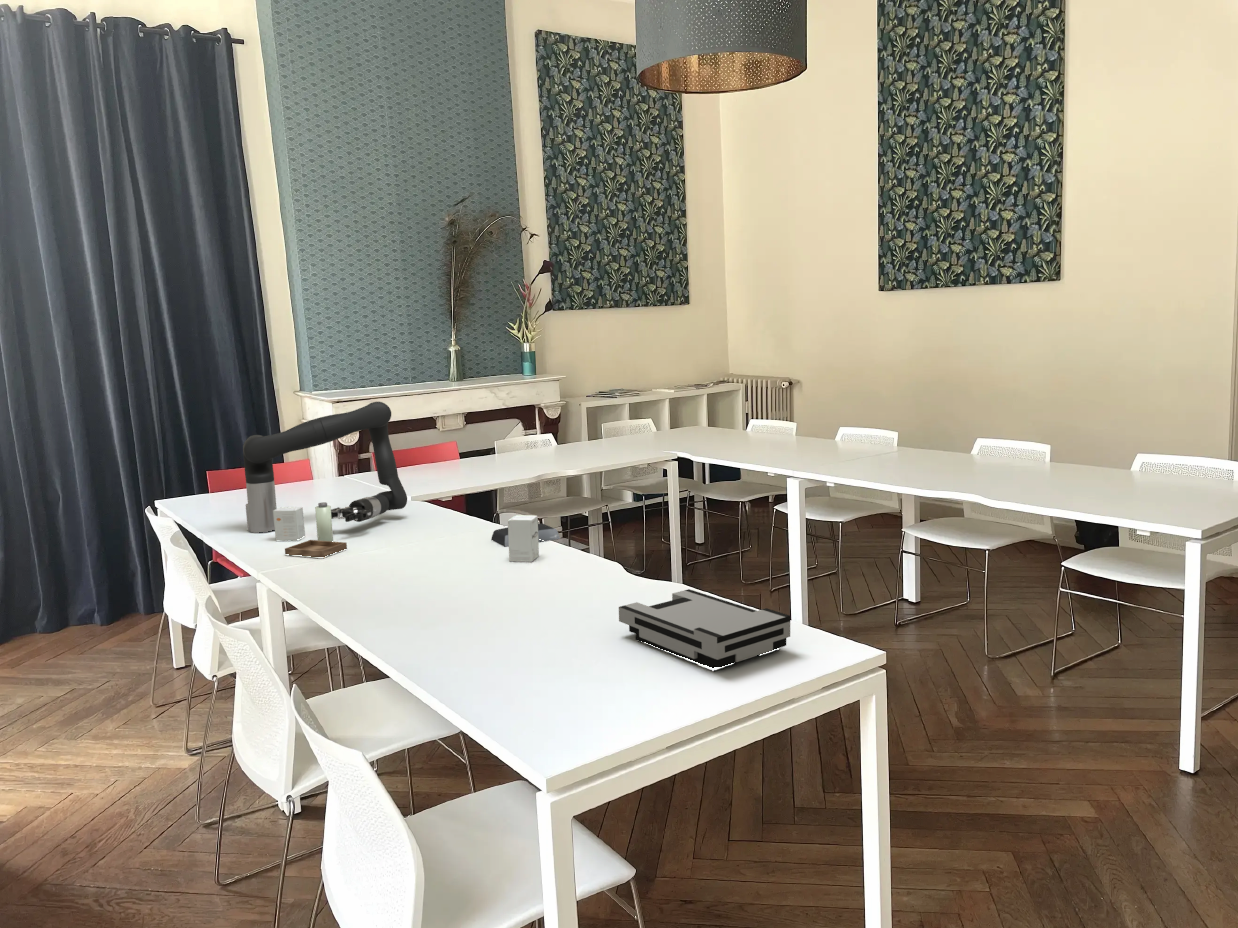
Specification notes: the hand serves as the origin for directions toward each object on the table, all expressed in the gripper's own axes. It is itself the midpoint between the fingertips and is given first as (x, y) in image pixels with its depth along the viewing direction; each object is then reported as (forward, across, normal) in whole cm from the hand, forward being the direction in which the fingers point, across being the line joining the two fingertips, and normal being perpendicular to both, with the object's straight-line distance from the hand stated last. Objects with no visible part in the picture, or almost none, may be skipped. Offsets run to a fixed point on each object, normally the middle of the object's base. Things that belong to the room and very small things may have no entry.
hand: (335, 518), depth 315 cm
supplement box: (+7, +73, +7) cm, 74 cm away
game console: (+63, +144, +8) cm, 157 cm away
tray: (+18, +6, +7) cm, 20 cm away
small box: (+5, -15, +7) cm, 17 cm away
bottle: (+6, 0, +7) cm, 9 cm away
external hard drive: (-16, +62, +8) cm, 64 cm away
